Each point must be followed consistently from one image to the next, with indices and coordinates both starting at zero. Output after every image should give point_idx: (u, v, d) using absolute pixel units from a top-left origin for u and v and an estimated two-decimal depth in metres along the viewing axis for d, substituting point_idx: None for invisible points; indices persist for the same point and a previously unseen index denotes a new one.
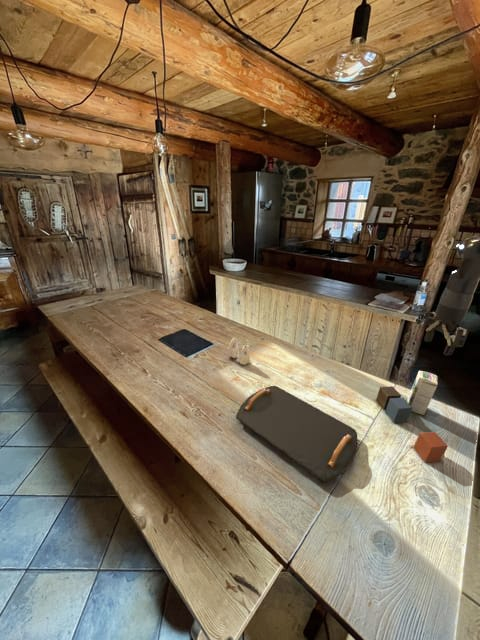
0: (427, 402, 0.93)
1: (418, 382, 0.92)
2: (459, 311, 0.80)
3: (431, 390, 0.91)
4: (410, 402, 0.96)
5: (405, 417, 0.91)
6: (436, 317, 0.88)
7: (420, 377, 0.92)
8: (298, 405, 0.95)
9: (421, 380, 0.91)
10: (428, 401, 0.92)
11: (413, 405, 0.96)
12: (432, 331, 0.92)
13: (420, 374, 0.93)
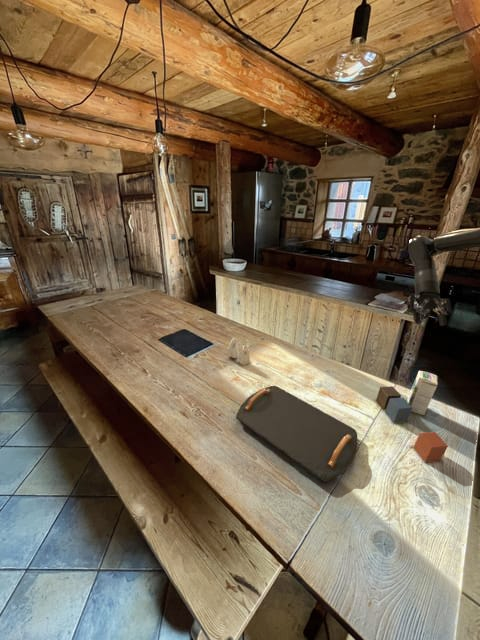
0: (427, 402, 0.93)
1: (418, 382, 0.92)
2: (415, 286, 1.02)
3: (431, 390, 0.91)
4: (410, 402, 0.96)
5: (405, 417, 0.91)
6: None
7: (420, 377, 0.92)
8: (298, 405, 0.95)
9: (421, 380, 0.91)
10: (428, 401, 0.92)
11: (413, 405, 0.96)
12: (441, 314, 0.97)
13: (420, 374, 0.93)
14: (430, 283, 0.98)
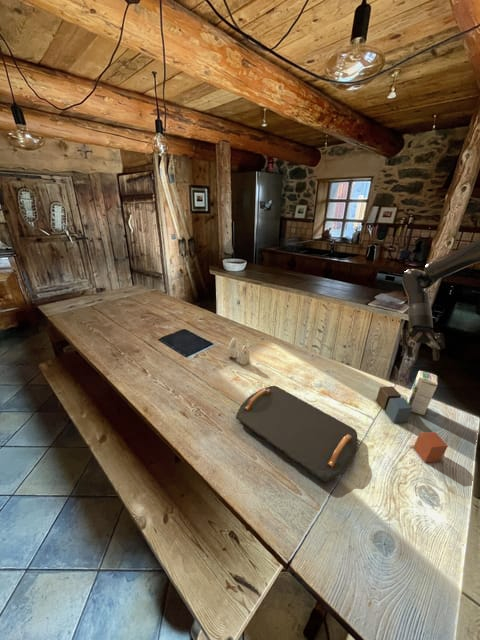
0: (427, 402, 0.93)
1: (418, 382, 0.92)
2: None
3: (431, 390, 0.91)
4: (410, 402, 0.96)
5: (405, 417, 0.91)
6: None
7: (420, 377, 0.92)
8: (298, 405, 0.95)
9: (421, 380, 0.91)
10: (428, 401, 0.92)
11: (413, 405, 0.96)
12: (434, 349, 0.97)
13: (420, 374, 0.93)
14: (422, 317, 0.98)
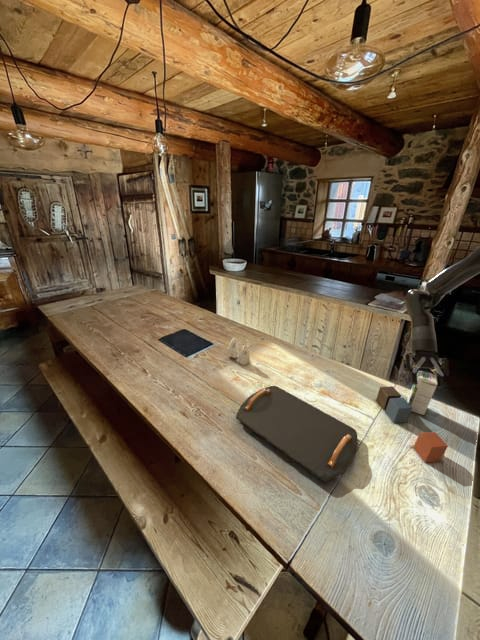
0: (427, 402, 0.93)
1: (418, 382, 0.92)
2: None
3: (431, 390, 0.91)
4: (410, 402, 0.96)
5: (405, 417, 0.91)
6: None
7: (420, 377, 0.92)
8: (298, 405, 0.95)
9: (421, 380, 0.91)
10: (428, 401, 0.92)
11: (413, 405, 0.96)
12: (438, 375, 0.93)
13: (420, 374, 0.93)
14: (426, 342, 0.94)
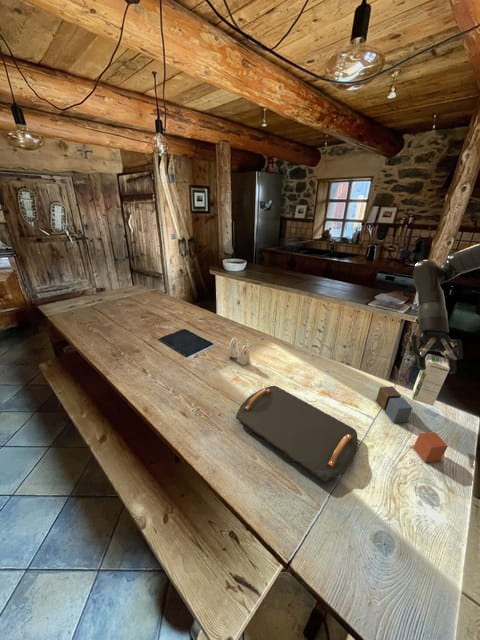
0: (437, 390, 0.79)
1: (426, 367, 0.78)
2: (418, 322, 0.85)
3: (441, 376, 0.77)
4: (417, 391, 0.82)
5: (405, 417, 0.91)
6: None
7: (429, 361, 0.78)
8: (298, 405, 0.95)
9: (430, 364, 0.78)
10: (438, 389, 0.79)
11: (421, 395, 0.82)
12: (450, 359, 0.79)
13: (428, 358, 0.80)
14: (436, 320, 0.80)
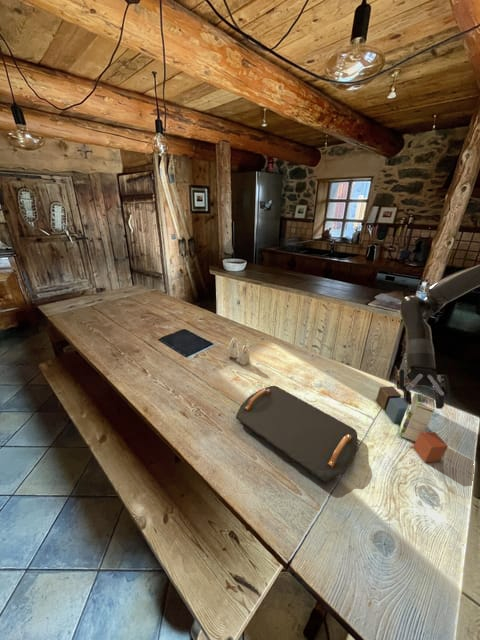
0: (423, 429, 0.82)
1: (412, 407, 0.81)
2: None
3: (427, 416, 0.80)
4: (404, 428, 0.85)
5: None
6: None
7: (415, 401, 0.81)
8: (298, 405, 0.95)
9: (416, 405, 0.80)
10: (424, 428, 0.82)
11: (407, 432, 0.85)
12: (437, 394, 0.81)
13: (415, 397, 0.83)
14: (423, 357, 0.82)
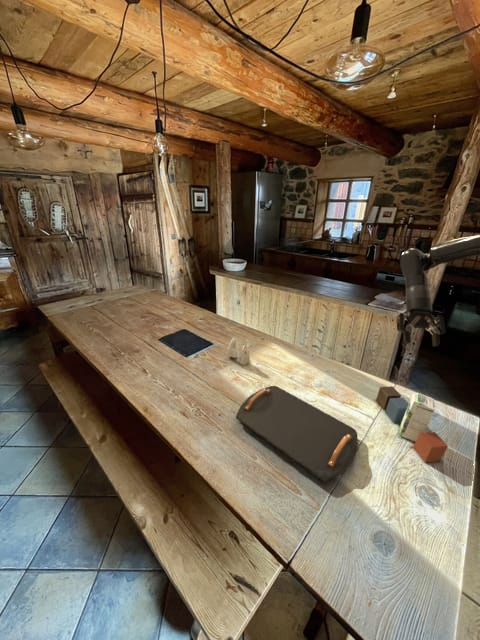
0: (423, 429, 0.82)
1: (412, 407, 0.81)
2: (406, 303, 0.96)
3: (427, 416, 0.80)
4: (404, 428, 0.85)
5: None
6: None
7: (415, 401, 0.81)
8: (298, 405, 0.95)
9: (416, 405, 0.80)
10: (424, 428, 0.82)
11: (407, 432, 0.85)
12: (434, 334, 0.90)
13: (415, 397, 0.83)
14: (421, 300, 0.91)
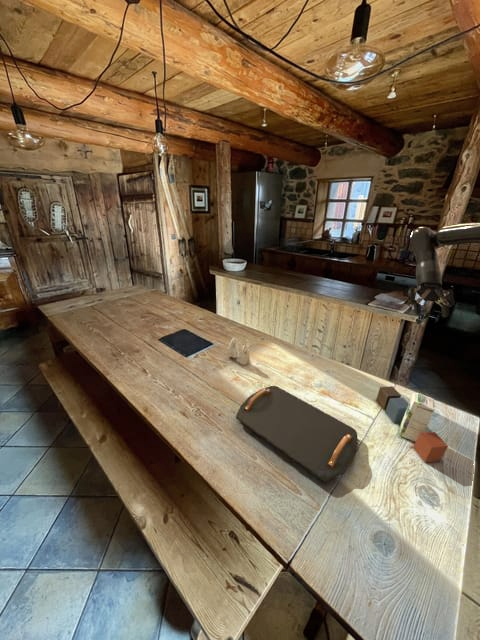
0: (423, 429, 0.82)
1: (412, 407, 0.81)
2: (416, 278, 1.00)
3: (427, 416, 0.80)
4: (404, 428, 0.85)
5: None
6: None
7: (415, 401, 0.81)
8: (298, 405, 0.95)
9: (416, 405, 0.80)
10: (424, 428, 0.82)
11: (407, 432, 0.85)
12: (444, 305, 0.94)
13: (415, 397, 0.83)
14: (431, 274, 0.95)
